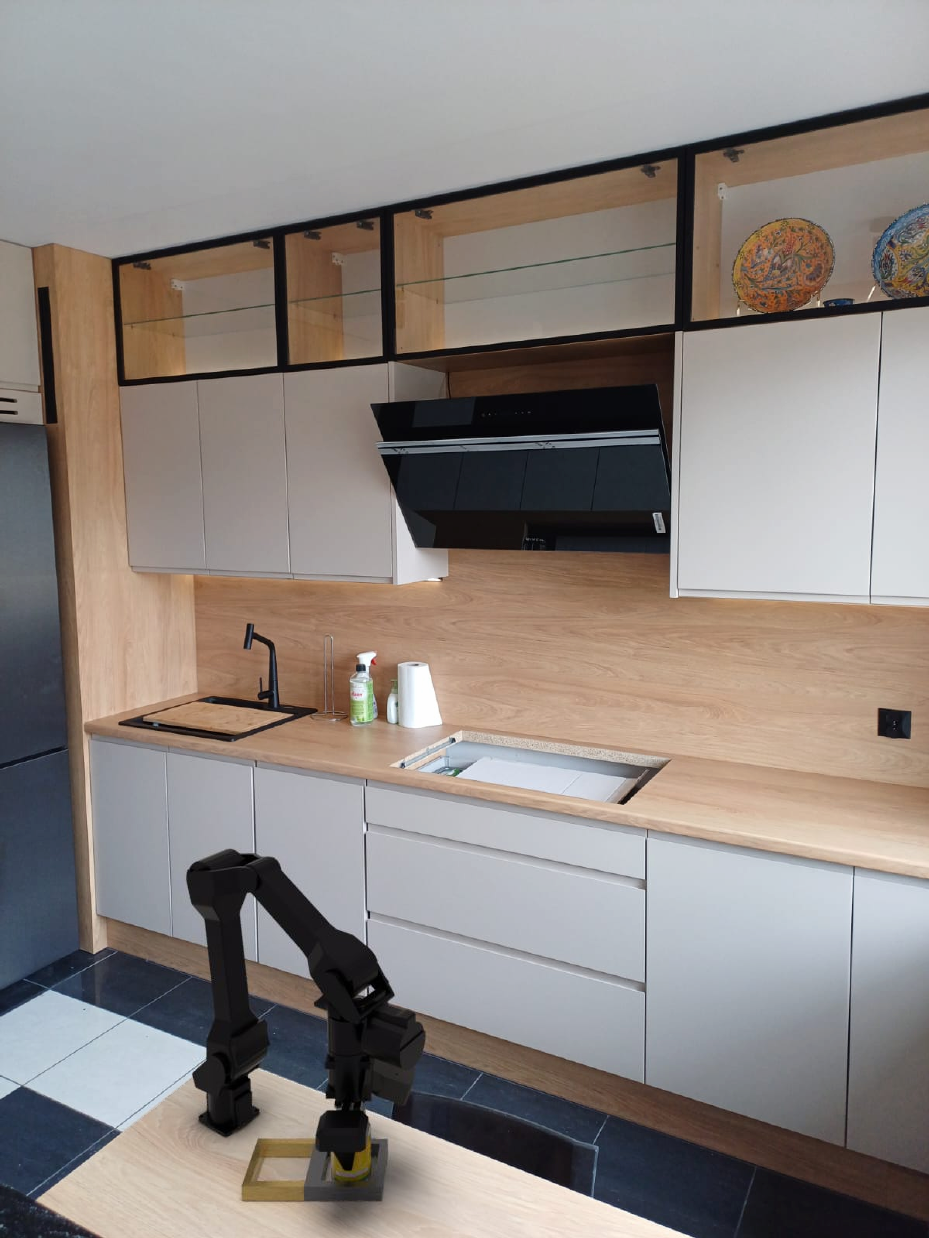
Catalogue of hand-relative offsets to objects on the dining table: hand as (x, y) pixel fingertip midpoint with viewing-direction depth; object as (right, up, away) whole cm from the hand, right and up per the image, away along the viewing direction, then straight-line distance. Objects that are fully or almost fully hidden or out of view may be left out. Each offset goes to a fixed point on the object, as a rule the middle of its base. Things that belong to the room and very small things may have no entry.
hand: (350, 1154), depth 117 cm
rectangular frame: (-4, -3, 0) cm, 5 cm away
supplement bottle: (0, -3, 0) cm, 3 cm away
